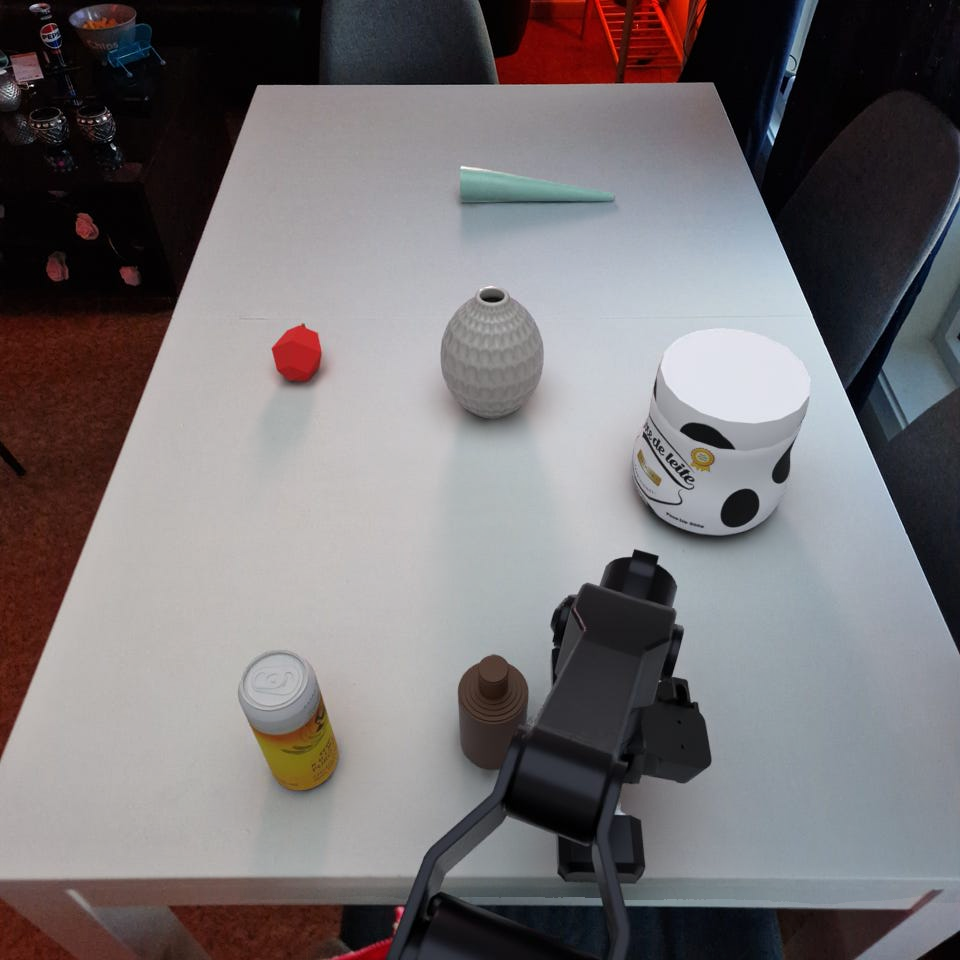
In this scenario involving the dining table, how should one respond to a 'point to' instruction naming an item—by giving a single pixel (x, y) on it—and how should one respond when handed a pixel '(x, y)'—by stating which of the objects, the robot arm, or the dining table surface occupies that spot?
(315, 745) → the beer can
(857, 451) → the dining table surface
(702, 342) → the milk container
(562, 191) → the long green cone
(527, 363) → the vase
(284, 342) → the apple
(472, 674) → the bottle
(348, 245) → the dining table surface
